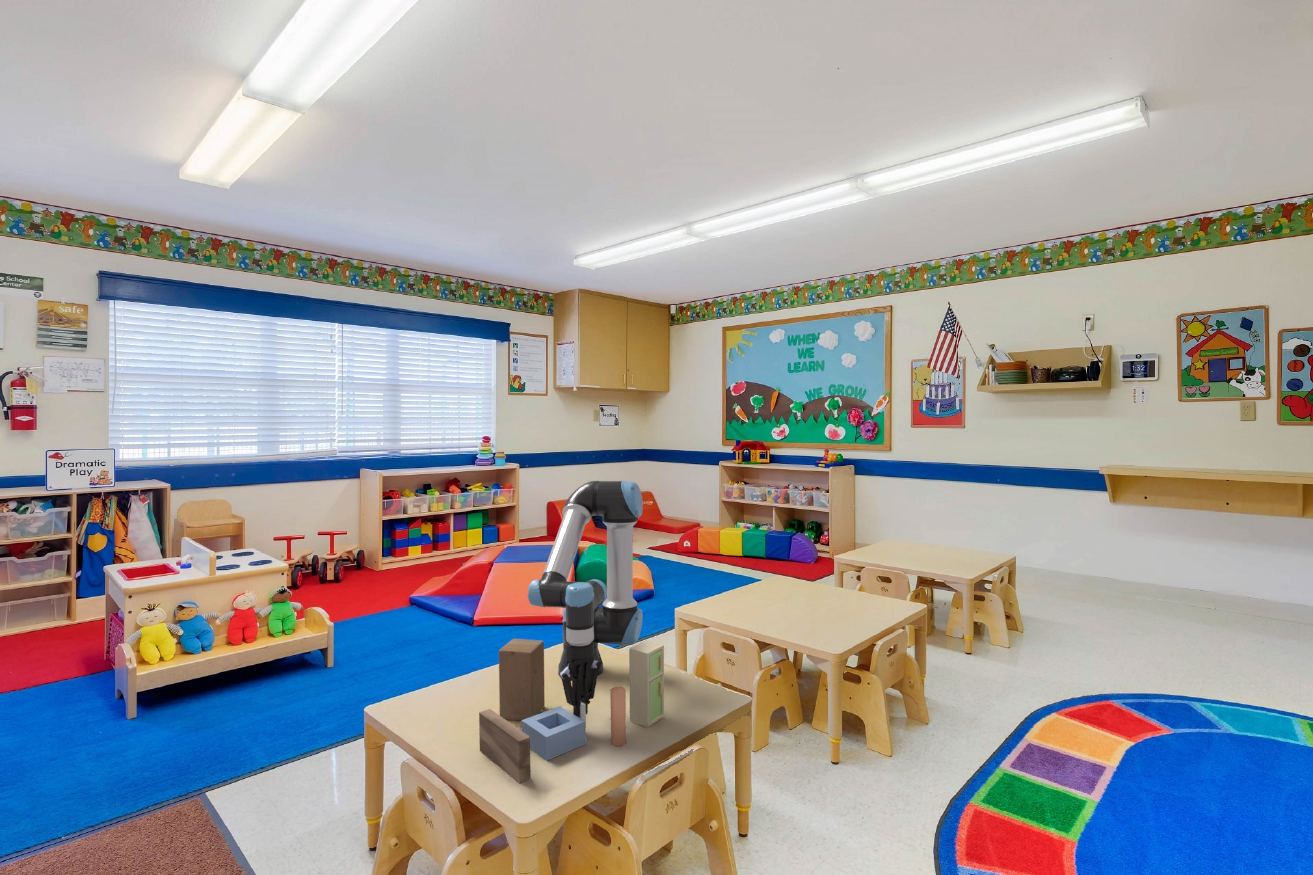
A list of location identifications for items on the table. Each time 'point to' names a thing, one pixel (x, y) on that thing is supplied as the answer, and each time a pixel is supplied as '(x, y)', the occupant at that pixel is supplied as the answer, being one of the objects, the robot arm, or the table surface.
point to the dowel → (618, 716)
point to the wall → (505, 745)
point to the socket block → (554, 732)
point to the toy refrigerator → (646, 683)
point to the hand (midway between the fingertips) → (580, 726)
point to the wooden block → (521, 679)
